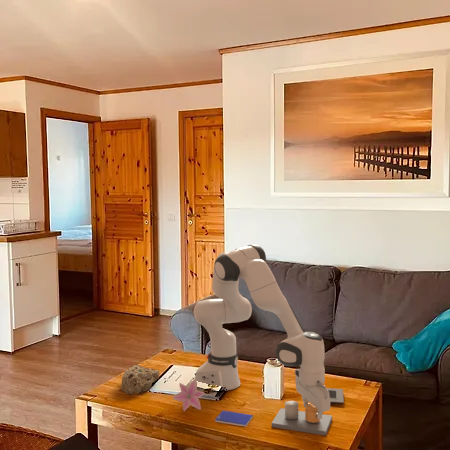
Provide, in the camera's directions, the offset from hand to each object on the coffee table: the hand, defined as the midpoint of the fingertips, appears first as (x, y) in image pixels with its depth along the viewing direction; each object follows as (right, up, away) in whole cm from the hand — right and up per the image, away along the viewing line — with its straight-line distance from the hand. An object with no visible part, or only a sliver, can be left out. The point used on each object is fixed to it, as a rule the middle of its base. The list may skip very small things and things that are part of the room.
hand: (312, 412), depth 194 cm
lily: (-47, -4, +18) cm, 51 cm away
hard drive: (-29, -6, +6) cm, 30 cm away
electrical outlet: (+11, -3, +23) cm, 26 cm away
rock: (-70, -3, +40) cm, 81 cm away
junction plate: (-4, -5, +2) cm, 6 cm away
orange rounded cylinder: (0, -3, 0) cm, 3 cm away
